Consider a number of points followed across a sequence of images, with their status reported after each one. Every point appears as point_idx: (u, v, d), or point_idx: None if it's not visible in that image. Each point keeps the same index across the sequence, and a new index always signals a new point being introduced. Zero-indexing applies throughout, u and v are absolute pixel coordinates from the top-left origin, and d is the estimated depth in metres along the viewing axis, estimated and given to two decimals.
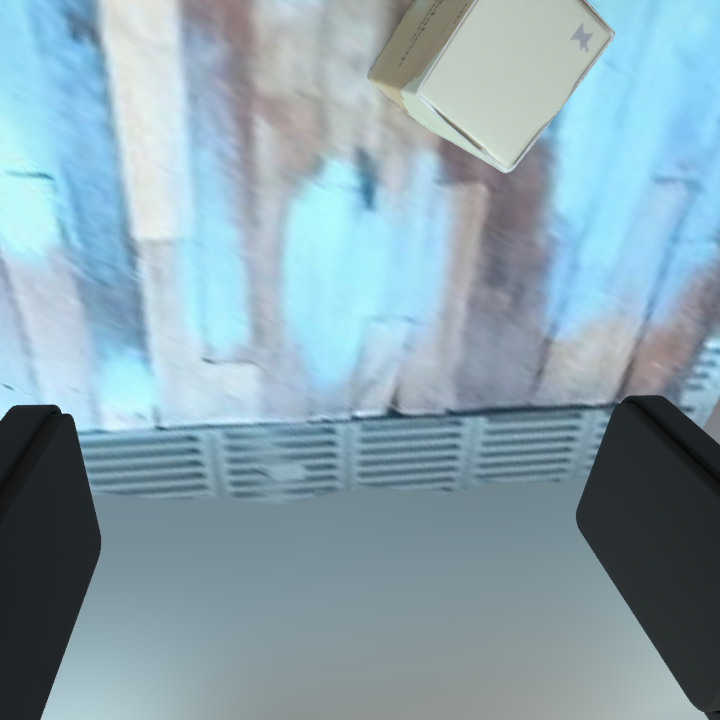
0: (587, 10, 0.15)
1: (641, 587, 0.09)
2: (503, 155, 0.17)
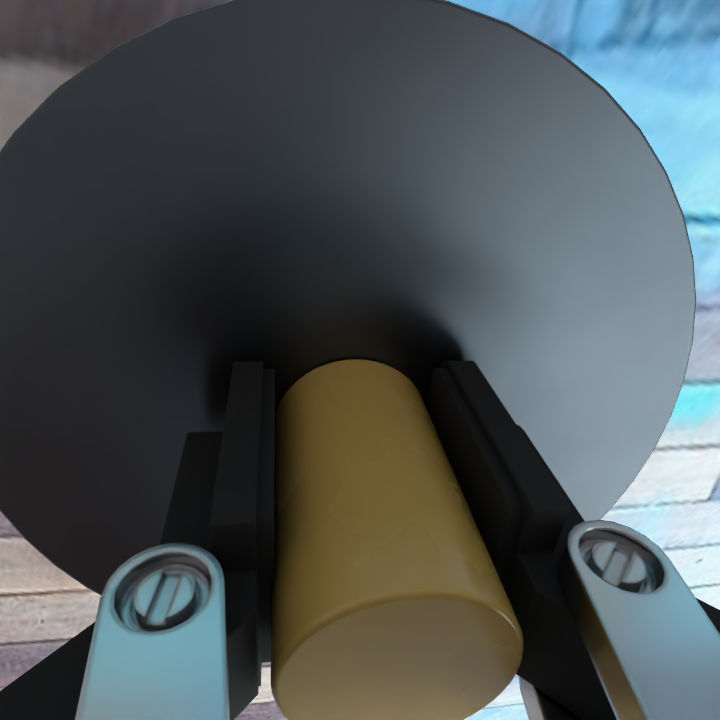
0: None
1: None
2: None
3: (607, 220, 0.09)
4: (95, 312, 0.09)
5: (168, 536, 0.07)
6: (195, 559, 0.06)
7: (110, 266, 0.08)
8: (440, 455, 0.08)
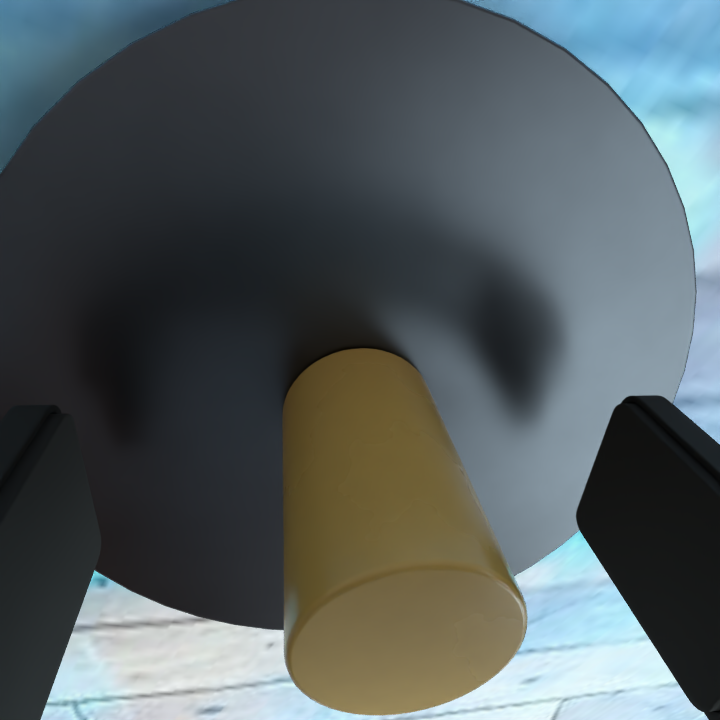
0: None
1: (641, 587, 0.09)
2: None
3: (609, 212, 0.09)
4: (110, 300, 0.09)
5: None
6: None
7: (126, 255, 0.09)
8: (446, 439, 0.08)
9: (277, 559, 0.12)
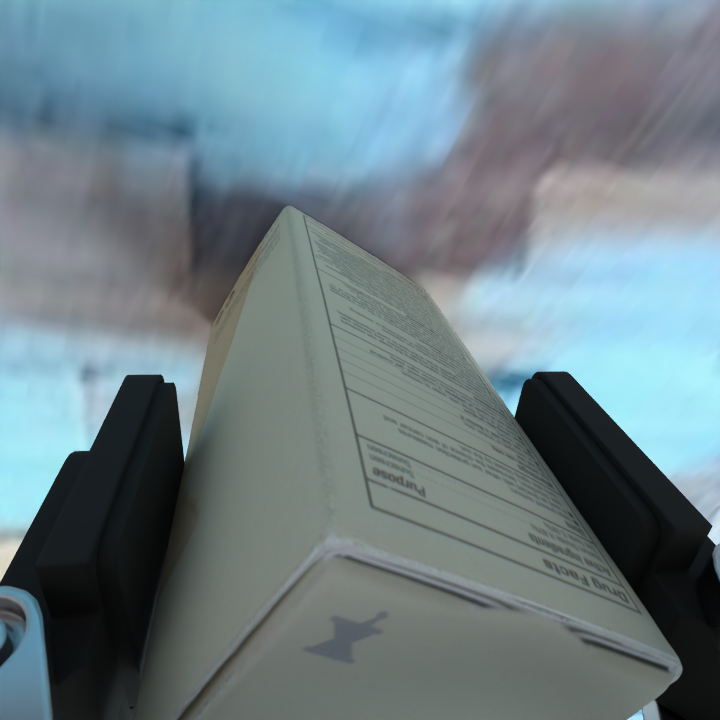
0: (264, 640, 0.05)
1: None
2: (637, 705, 0.06)
3: None
4: None
5: (13, 573, 0.06)
6: (17, 605, 0.05)
7: None
8: None
9: None
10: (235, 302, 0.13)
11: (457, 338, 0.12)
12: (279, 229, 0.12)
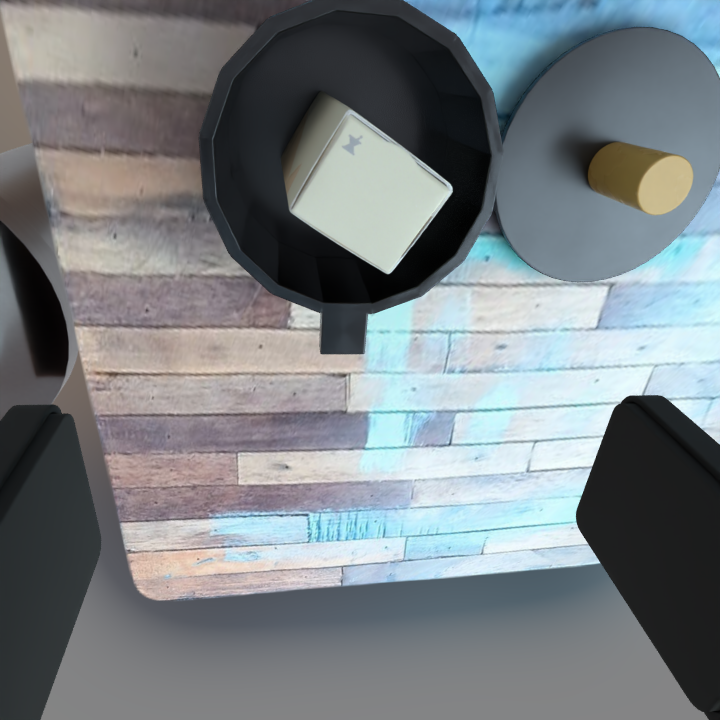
0: (332, 143, 0.19)
1: (641, 587, 0.09)
2: (438, 198, 0.20)
3: (702, 95, 0.30)
4: (552, 120, 0.29)
5: None
6: None
7: (562, 105, 0.29)
8: None
9: (567, 237, 0.33)
10: (297, 134, 0.27)
11: None
12: (318, 98, 0.26)
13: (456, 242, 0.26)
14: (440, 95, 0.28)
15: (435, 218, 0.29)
